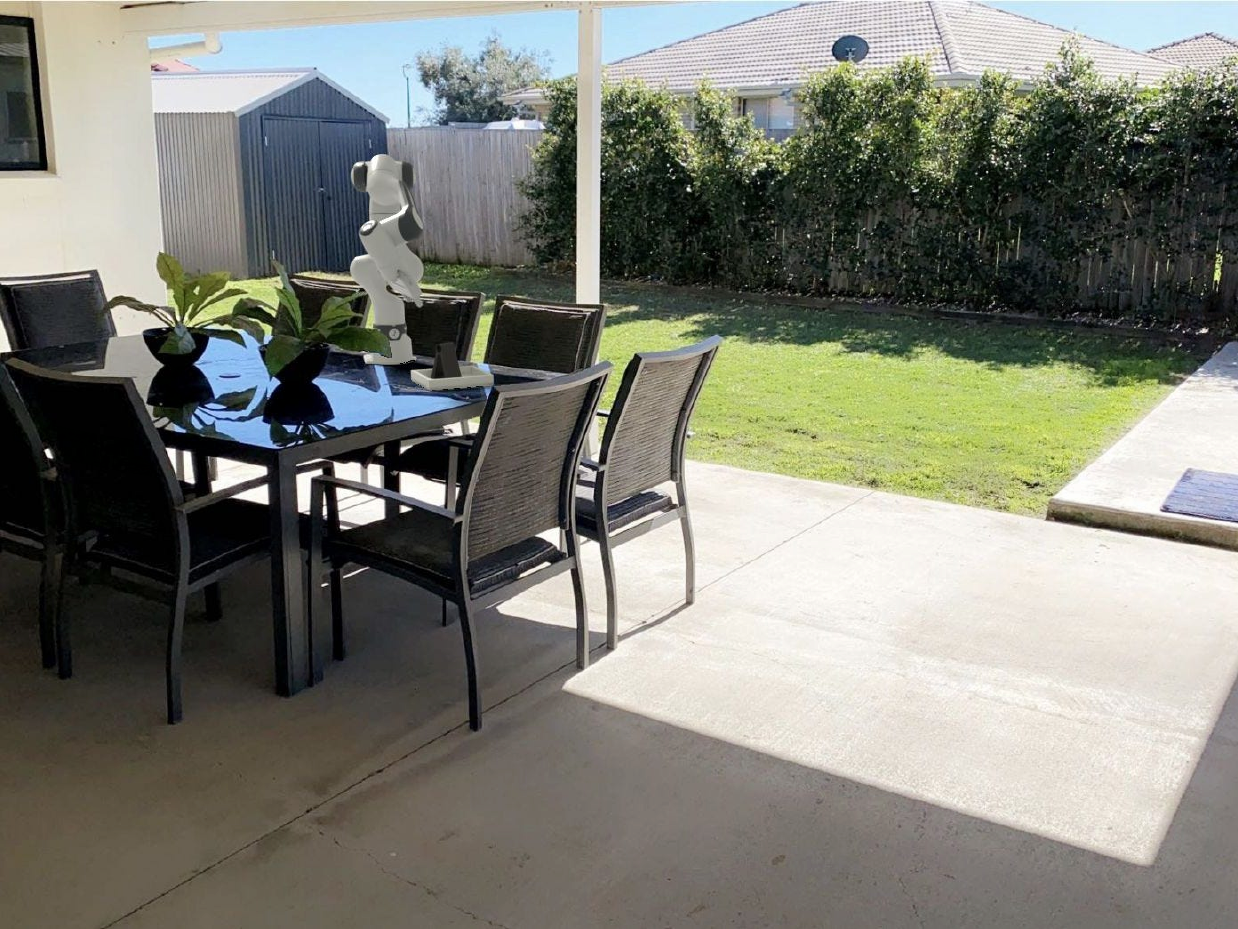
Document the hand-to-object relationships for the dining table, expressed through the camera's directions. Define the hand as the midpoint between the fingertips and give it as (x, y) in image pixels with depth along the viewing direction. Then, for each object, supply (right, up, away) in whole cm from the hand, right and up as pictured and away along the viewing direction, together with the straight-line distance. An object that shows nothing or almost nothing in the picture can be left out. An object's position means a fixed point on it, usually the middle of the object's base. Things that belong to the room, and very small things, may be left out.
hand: (415, 303), depth 380 cm
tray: (+11, -26, +5) cm, 29 cm away
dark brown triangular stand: (+9, -24, +7) cm, 27 cm away
